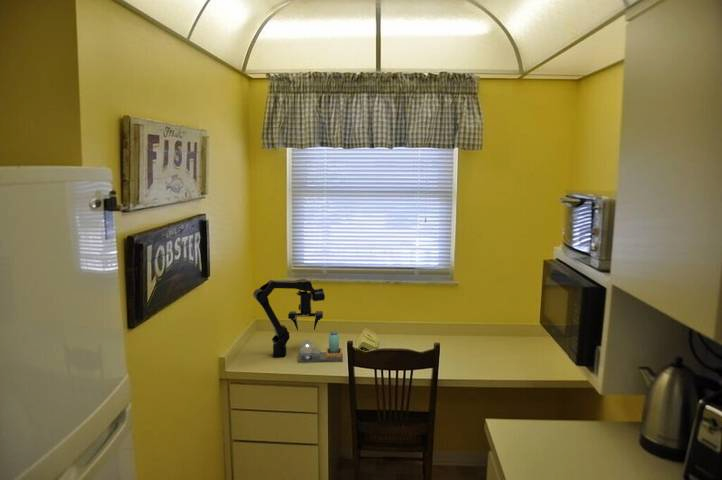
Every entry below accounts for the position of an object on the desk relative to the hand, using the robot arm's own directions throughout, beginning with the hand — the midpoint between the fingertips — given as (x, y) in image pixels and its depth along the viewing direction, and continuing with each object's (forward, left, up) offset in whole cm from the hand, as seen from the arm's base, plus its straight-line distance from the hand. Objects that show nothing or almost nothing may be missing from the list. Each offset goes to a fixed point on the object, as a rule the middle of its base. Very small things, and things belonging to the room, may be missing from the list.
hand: (306, 330), depth 282 cm
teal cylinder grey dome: (+15, -11, -10) cm, 22 cm away
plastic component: (+35, +8, -12) cm, 38 cm away
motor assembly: (+8, -11, -12) cm, 19 cm away
